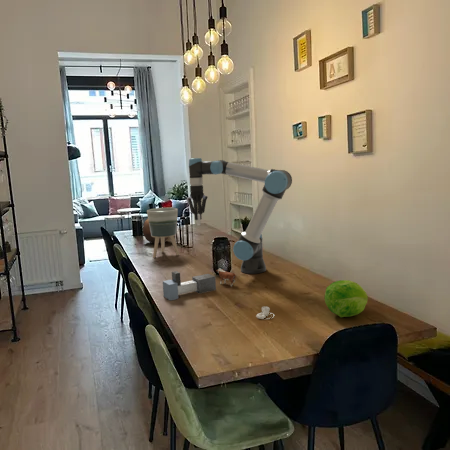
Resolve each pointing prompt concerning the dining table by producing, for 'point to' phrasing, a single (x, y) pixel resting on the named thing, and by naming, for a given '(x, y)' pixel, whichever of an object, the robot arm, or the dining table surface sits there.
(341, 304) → the lettuce
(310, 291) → the dining table surface
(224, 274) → the bull figurine
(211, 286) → the grey rectangular block
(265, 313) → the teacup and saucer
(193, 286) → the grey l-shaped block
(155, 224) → the planter
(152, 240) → the pottery
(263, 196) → the robot arm
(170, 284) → the blue-grey block
